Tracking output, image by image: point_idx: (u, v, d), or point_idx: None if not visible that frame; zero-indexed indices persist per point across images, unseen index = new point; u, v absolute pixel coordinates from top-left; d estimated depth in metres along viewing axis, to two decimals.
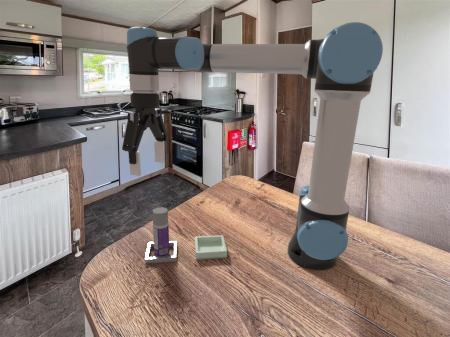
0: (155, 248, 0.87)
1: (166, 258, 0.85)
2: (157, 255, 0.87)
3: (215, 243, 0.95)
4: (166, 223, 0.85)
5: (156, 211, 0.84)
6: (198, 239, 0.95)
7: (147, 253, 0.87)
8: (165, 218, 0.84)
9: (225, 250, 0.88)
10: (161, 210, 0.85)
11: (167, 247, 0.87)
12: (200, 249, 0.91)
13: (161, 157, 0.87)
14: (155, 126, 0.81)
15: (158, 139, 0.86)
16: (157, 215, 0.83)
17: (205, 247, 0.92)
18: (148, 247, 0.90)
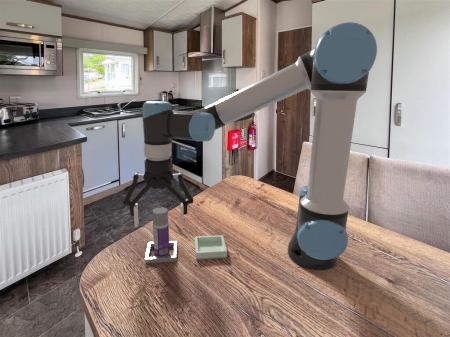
0: (155, 248, 0.87)
1: (166, 258, 0.85)
2: (157, 255, 0.87)
3: (215, 243, 0.95)
4: (166, 223, 0.85)
5: (156, 211, 0.84)
6: (198, 239, 0.95)
7: (147, 253, 0.87)
8: (165, 218, 0.84)
9: (225, 250, 0.88)
10: (161, 210, 0.85)
11: (167, 247, 0.87)
12: (200, 249, 0.91)
13: (181, 220, 0.86)
14: None
15: None
16: (157, 215, 0.83)
17: (205, 247, 0.92)
18: (148, 247, 0.90)
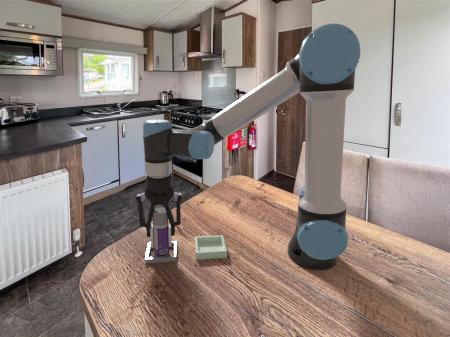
0: (155, 248, 0.87)
1: (166, 258, 0.85)
2: (157, 255, 0.87)
3: (215, 243, 0.95)
4: (165, 223, 0.85)
5: (156, 211, 0.84)
6: (198, 239, 0.95)
7: (147, 253, 0.87)
8: (165, 218, 0.84)
9: (225, 250, 0.88)
10: (161, 210, 0.85)
11: (167, 247, 0.87)
12: (200, 249, 0.91)
13: None
14: (165, 207, 0.84)
15: None
16: (157, 215, 0.83)
17: (205, 247, 0.92)
18: (148, 247, 0.90)
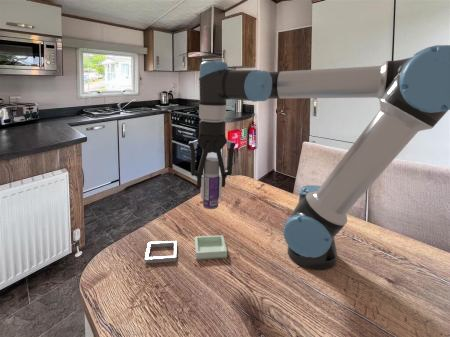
0: (205, 199, 0.85)
1: (166, 258, 0.85)
2: (207, 206, 0.85)
3: (215, 243, 0.95)
4: (217, 172, 0.83)
5: (208, 159, 0.82)
6: (198, 239, 0.95)
7: (147, 253, 0.87)
8: (217, 167, 0.82)
9: (225, 250, 0.88)
10: (213, 159, 0.83)
11: (217, 198, 0.86)
12: (200, 249, 0.91)
13: None
14: (217, 155, 0.82)
15: (221, 173, 0.85)
16: (209, 163, 0.81)
17: (205, 247, 0.92)
18: (148, 247, 0.90)
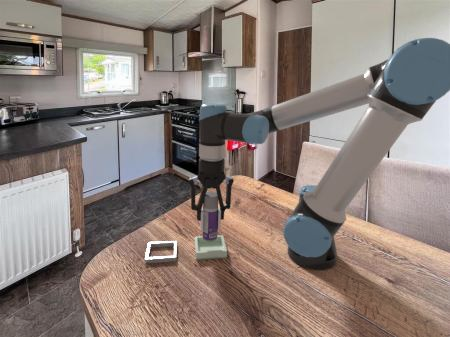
0: (205, 232, 0.88)
1: (166, 258, 0.85)
2: (206, 238, 0.88)
3: (215, 243, 0.95)
4: (216, 207, 0.86)
5: (208, 194, 0.86)
6: (198, 239, 0.95)
7: (147, 253, 0.87)
8: (216, 202, 0.86)
9: (225, 250, 0.88)
10: (212, 194, 0.86)
11: (216, 231, 0.89)
12: (200, 249, 0.91)
13: None
14: (216, 191, 0.85)
15: None
16: (209, 199, 0.84)
17: (205, 247, 0.92)
18: (148, 247, 0.90)
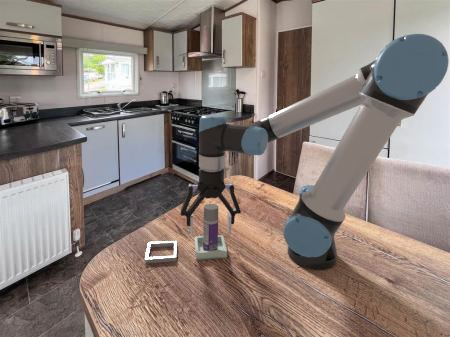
0: (205, 243, 0.89)
1: (166, 258, 0.85)
2: (207, 250, 0.89)
3: None
4: (216, 219, 0.87)
5: (208, 207, 0.87)
6: (198, 239, 0.95)
7: (147, 253, 0.87)
8: (216, 214, 0.87)
9: (225, 250, 0.88)
10: (212, 206, 0.87)
11: (216, 242, 0.90)
12: (200, 249, 0.91)
13: (228, 229, 0.90)
14: (220, 199, 0.86)
15: (230, 212, 0.89)
16: (209, 211, 0.85)
17: None
18: (148, 247, 0.90)
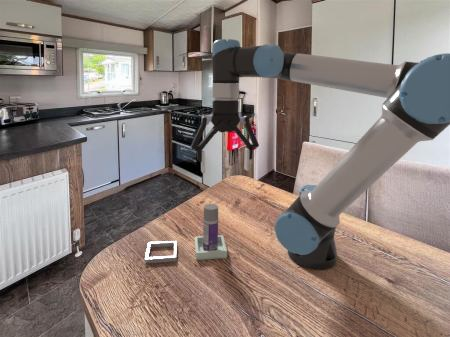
0: (205, 243, 0.89)
1: (166, 258, 0.85)
2: (207, 250, 0.89)
3: None
4: (216, 219, 0.87)
5: (208, 207, 0.87)
6: (198, 239, 0.95)
7: (147, 253, 0.87)
8: (216, 214, 0.87)
9: (225, 250, 0.88)
10: (212, 206, 0.87)
11: (216, 242, 0.90)
12: (200, 249, 0.91)
13: (246, 165, 0.86)
14: (236, 133, 0.83)
15: None
16: (209, 211, 0.85)
17: None
18: (148, 247, 0.90)
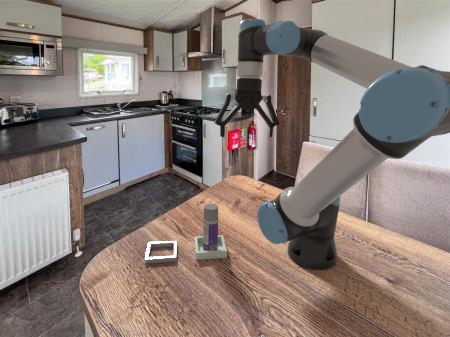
0: (205, 243, 0.89)
1: (166, 258, 0.85)
2: (207, 250, 0.89)
3: None
4: (216, 219, 0.87)
5: (208, 207, 0.87)
6: (198, 239, 0.95)
7: (147, 253, 0.87)
8: (216, 214, 0.87)
9: (225, 250, 0.88)
10: (212, 206, 0.87)
11: (216, 242, 0.90)
12: (200, 249, 0.91)
13: (266, 142, 0.90)
14: (258, 110, 0.87)
15: (268, 125, 0.90)
16: (209, 211, 0.85)
17: None
18: (148, 247, 0.90)
